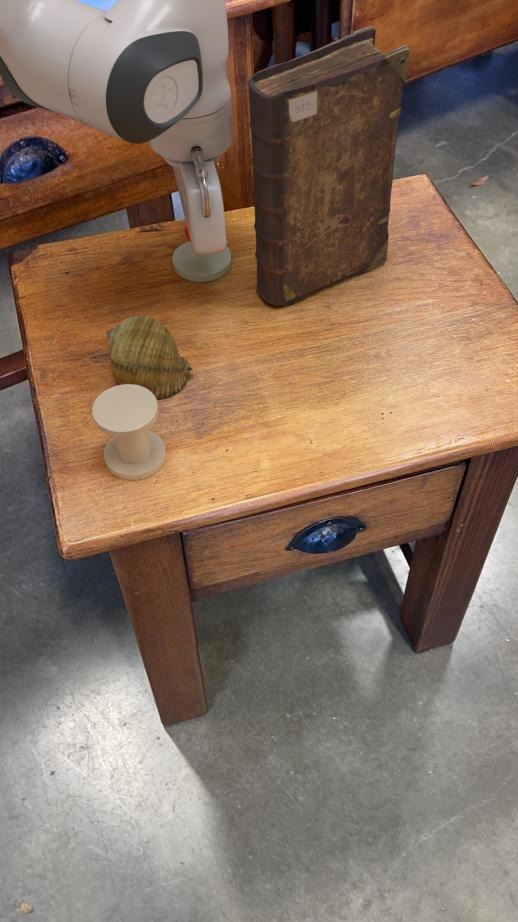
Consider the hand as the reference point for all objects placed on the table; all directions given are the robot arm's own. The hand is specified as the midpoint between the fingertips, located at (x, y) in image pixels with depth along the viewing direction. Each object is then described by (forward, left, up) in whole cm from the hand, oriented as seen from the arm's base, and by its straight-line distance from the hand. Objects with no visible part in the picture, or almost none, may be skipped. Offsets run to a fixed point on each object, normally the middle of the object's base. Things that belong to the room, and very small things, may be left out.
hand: (200, 238), depth 97 cm
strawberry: (0, 0, -1) cm, 1 cm away
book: (+13, -5, -4) cm, 14 cm away
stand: (-11, -29, -4) cm, 31 cm away
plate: (0, 0, -4) cm, 4 cm away
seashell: (-8, -17, -4) cm, 19 cm away
